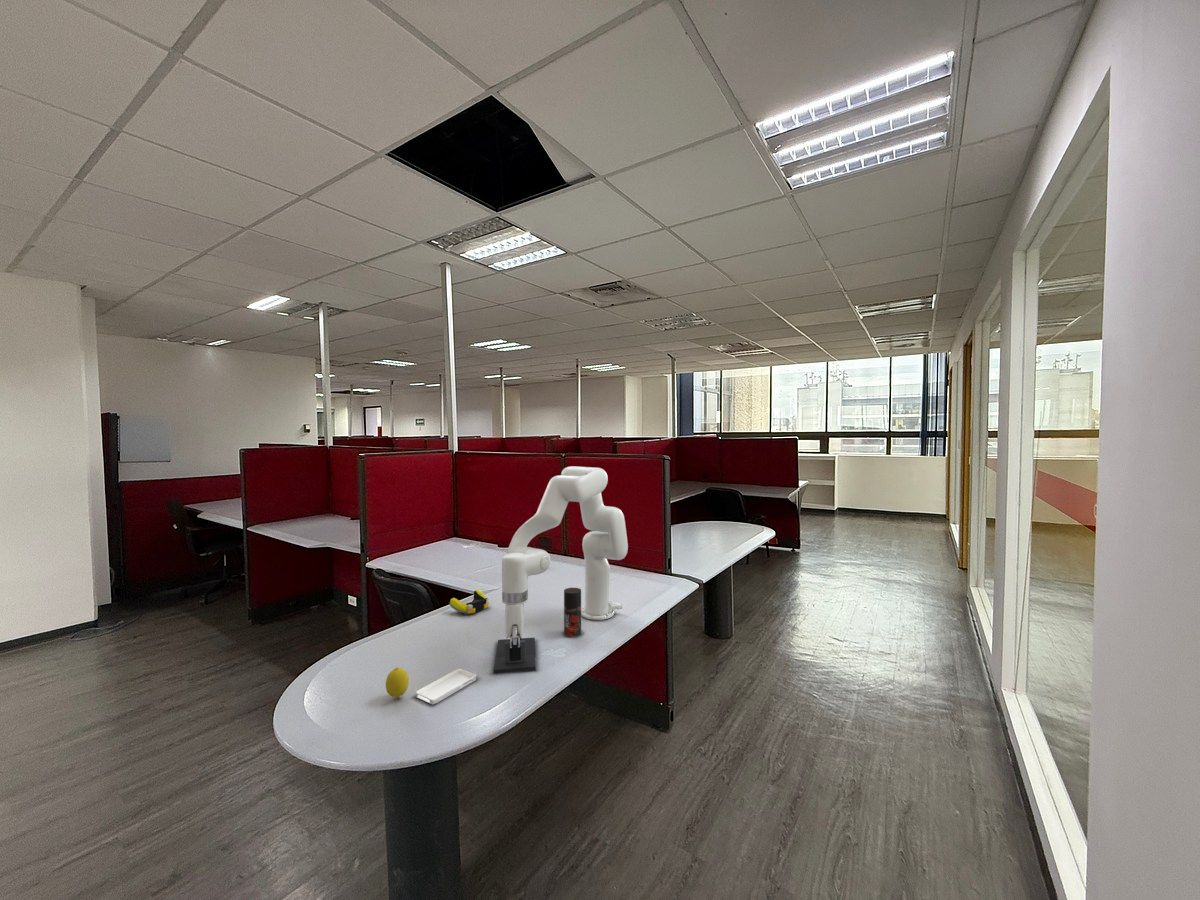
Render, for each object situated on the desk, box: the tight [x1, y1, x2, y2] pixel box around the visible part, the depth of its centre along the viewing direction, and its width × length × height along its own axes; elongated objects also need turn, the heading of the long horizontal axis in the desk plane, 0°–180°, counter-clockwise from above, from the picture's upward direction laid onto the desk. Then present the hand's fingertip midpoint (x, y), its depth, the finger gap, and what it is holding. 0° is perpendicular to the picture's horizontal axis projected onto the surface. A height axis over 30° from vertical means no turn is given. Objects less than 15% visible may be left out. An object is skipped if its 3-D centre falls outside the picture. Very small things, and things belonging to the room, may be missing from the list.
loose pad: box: [492, 640, 537, 674], centre depth 143 cm, size 12×11×7 cm
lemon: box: [385, 666, 410, 699], centre depth 124 cm, size 6×6×8 cm
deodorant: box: [563, 587, 582, 638], centre depth 164 cm, size 6×6×15 cm
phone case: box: [415, 668, 477, 706], centre depth 129 cm, size 7×1×15 cm
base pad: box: [495, 637, 536, 657], centre depth 152 cm, size 12×12×1 cm
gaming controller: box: [449, 589, 490, 616], centre depth 187 cm, size 15×6×10 cm
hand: (515, 652), depth 142 cm, fingers open, 9 cm apart
